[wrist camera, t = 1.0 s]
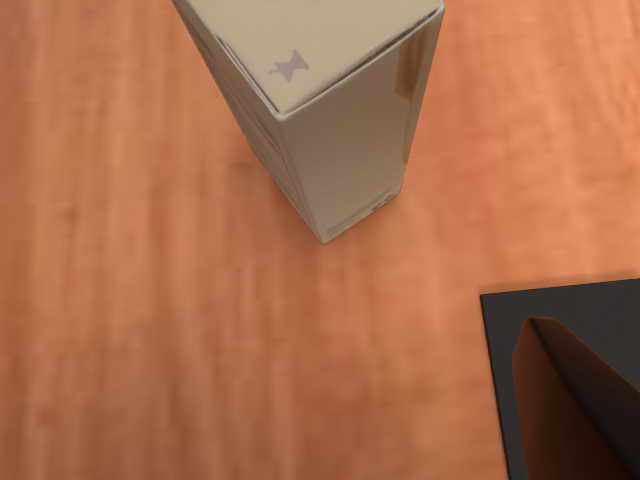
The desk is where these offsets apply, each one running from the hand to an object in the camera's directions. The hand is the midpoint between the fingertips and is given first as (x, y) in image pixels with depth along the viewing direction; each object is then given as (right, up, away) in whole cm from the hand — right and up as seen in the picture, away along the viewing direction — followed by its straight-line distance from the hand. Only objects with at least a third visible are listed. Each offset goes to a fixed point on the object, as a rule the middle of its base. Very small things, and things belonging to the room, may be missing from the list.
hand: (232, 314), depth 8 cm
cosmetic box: (+1, +5, +15) cm, 15 cm away
